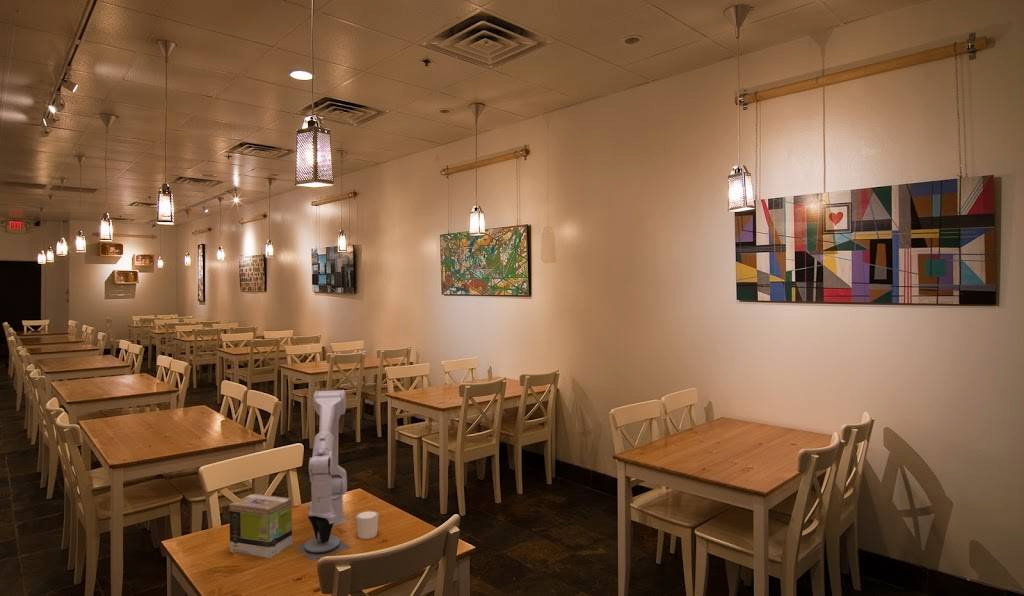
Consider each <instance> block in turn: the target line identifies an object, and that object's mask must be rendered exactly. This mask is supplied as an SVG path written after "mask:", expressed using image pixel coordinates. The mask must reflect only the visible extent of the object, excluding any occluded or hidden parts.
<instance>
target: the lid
mask: <svg viewBox="0 0 1024 596" xmlns="http://www.w3.org/2000/svg"><path fill="white" fill-rule="evenodd" d="M340 540H341V539H340V537H339V536H337V535H333V534H330V537H329V541H328V542H325V543H321V540H320V533H319V531H318V532H317V539H316V537H315V536H313V537H311V538H309V539H308V540H306V541H305V543H304V544H305V549H306V550H307V551H309V552H316V553H317V552H326V551H329V550H332V549H334V548H336V547H337V546H338V545H339V544H340Z"/></svg>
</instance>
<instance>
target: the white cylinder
mask: <svg viewBox="0 0 1024 596" xmlns="http://www.w3.org/2000/svg"><path fill="white" fill-rule="evenodd" d="M355 519H356V527H357V536H358V538H360V539H361V540H362V539H363V540H369V539H373V538H375V537H376V536H377V535H378V525H379V512H378V511H375V510H365V511H360V512H359V513H357V514H356V515H355Z"/></svg>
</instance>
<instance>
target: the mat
mask: <svg viewBox="0 0 1024 596" xmlns="http://www.w3.org/2000/svg"><path fill="white" fill-rule="evenodd" d="M350 548H351V546H350V545H348V544H346V543H345V542H344V541H342V540H341V539H340V544H339V545H338V546H337V547H336V548H334V549H332V550H329V551H326V552H317V553H316V552H309V551H307V550H306V549H305V543H301V544H299V545H297V546H294V549H295V550H297V551H298V552H300V553H301V554H303V555H304V556H305V557H306V558H308V559H309V560H310V561H316V560H318V559H322V558H324V557H323V556H325V557H327V556H330V555H332V554H335V553H338V552H342V551H345V550H347V549H350ZM321 557H322V558H321Z"/></svg>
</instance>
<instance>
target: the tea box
mask: <svg viewBox="0 0 1024 596" xmlns="http://www.w3.org/2000/svg"><path fill="white" fill-rule="evenodd" d="M228 507H229V509H228V512H229V514H228V515H229V516H228V519H229V552H230V553H233V552H234V553H240V554H244V555H248V556H255V557H261V558H266V559H271V558H272V557H275V556H276V555H277V554H279V553H280V552H283V550H285V549H288V548H289V547H290V546H291V545H293V523H292V522H293V517H292V516H293V515H292V498H290V497H284V496H274V495H266V494H259V493H251V494H249V495H246V496H245V497H243V498H240V499H238V500H236V501H234V502H231V503H229V504H228Z"/></svg>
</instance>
